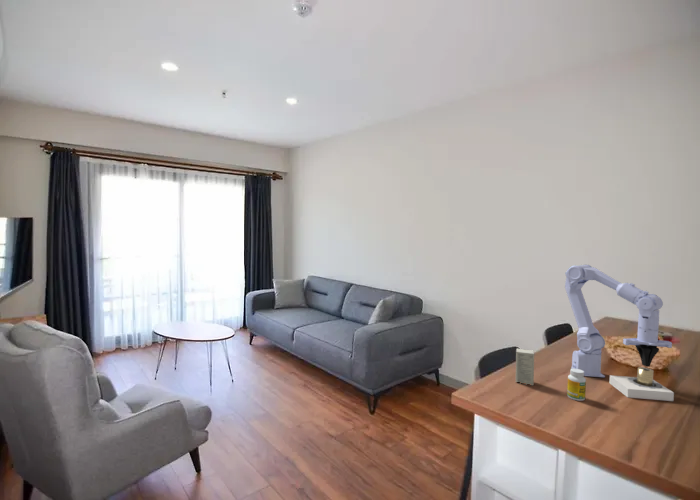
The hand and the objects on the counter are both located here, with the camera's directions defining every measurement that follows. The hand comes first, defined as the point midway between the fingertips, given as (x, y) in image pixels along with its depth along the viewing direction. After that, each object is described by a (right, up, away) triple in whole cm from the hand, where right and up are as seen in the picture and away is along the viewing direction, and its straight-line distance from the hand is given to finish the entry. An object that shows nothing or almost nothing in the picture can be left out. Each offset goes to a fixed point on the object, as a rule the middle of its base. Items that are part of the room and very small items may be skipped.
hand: (645, 365), depth 131 cm
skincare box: (-41, -9, +7) cm, 42 cm away
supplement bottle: (-29, -10, -5) cm, 31 cm away
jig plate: (-2, -9, 0) cm, 10 cm away
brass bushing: (0, -9, +1) cm, 9 cm away
